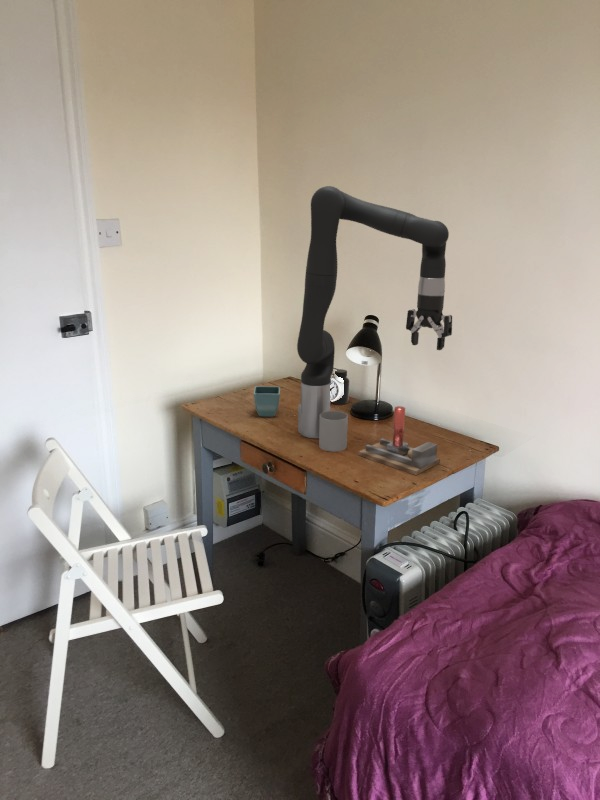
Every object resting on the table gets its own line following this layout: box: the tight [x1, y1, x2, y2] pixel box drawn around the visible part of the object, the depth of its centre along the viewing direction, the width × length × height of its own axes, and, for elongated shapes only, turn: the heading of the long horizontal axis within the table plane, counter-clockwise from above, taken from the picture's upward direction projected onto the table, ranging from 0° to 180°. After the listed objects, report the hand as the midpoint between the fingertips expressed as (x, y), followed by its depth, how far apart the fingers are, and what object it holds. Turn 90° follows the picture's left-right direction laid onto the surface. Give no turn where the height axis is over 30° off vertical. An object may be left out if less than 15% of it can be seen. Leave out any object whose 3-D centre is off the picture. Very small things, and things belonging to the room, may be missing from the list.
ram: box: [387, 406, 409, 456], centre depth 187 cm, size 4×5×14 cm
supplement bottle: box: [334, 368, 350, 405], centre depth 237 cm, size 7×7×12 cm
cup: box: [318, 410, 349, 452], centre depth 197 cm, size 8×8×10 cm
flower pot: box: [253, 385, 281, 418], centre depth 224 cm, size 9×9×9 cm
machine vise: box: [358, 437, 441, 476], centre depth 188 cm, size 20×12×6 cm, turn 47°
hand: (427, 347), depth 193 cm, fingers open, 8 cm apart
